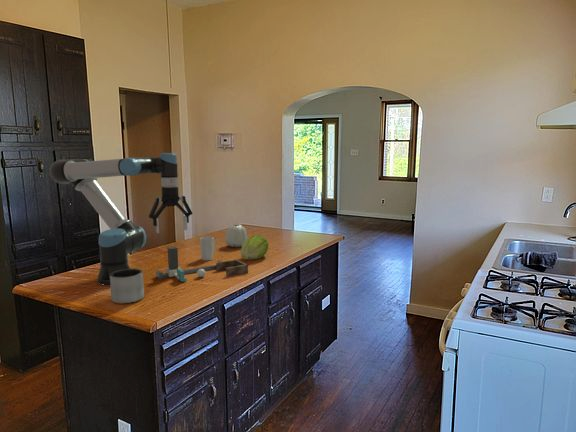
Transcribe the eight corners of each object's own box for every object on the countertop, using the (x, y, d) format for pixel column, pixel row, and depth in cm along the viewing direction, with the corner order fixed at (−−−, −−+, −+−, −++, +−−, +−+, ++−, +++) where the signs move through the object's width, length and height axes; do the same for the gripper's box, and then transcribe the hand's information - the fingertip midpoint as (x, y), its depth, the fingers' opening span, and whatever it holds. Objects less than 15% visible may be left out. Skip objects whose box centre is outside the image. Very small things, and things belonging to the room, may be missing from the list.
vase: (244, 243, 269) (244, 222, 267) (249, 247, 256) (249, 226, 254) (223, 244, 265) (223, 223, 263) (227, 249, 252) (227, 227, 250)
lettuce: (228, 251, 223) (246, 240, 217) (246, 238, 243) (264, 228, 237) (241, 272, 224) (260, 261, 218) (258, 257, 243) (276, 247, 237)
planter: (104, 302, 165) (102, 275, 164) (126, 292, 177) (125, 267, 175) (129, 306, 161) (127, 278, 159) (151, 296, 173) (149, 270, 171)
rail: (159, 279, 194) (159, 273, 194) (156, 276, 198) (155, 270, 198) (224, 268, 213) (224, 262, 212) (220, 266, 217) (220, 260, 216)
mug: (207, 261, 226) (206, 239, 224) (198, 259, 230) (197, 238, 228) (220, 257, 234) (219, 236, 232) (211, 255, 238) (210, 235, 236)
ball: (199, 278, 195) (198, 270, 194) (195, 276, 198) (195, 268, 198) (207, 277, 197) (206, 269, 197) (203, 275, 201) (203, 267, 200)
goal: (227, 276, 198) (227, 268, 198) (216, 270, 209) (216, 262, 208) (248, 272, 205) (247, 264, 204) (236, 266, 215) (236, 259, 214)
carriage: (176, 282, 188) (175, 254, 186) (165, 274, 201) (164, 247, 199) (189, 280, 192) (188, 252, 189) (178, 272, 204) (176, 246, 202)
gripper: (145, 188, 184) (147, 235, 187) (198, 185, 198) (199, 229, 201) (140, 187, 190) (142, 232, 193) (192, 184, 204) (193, 227, 207)
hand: (171, 231), depth 197 cm, fingers open, 13 cm apart
